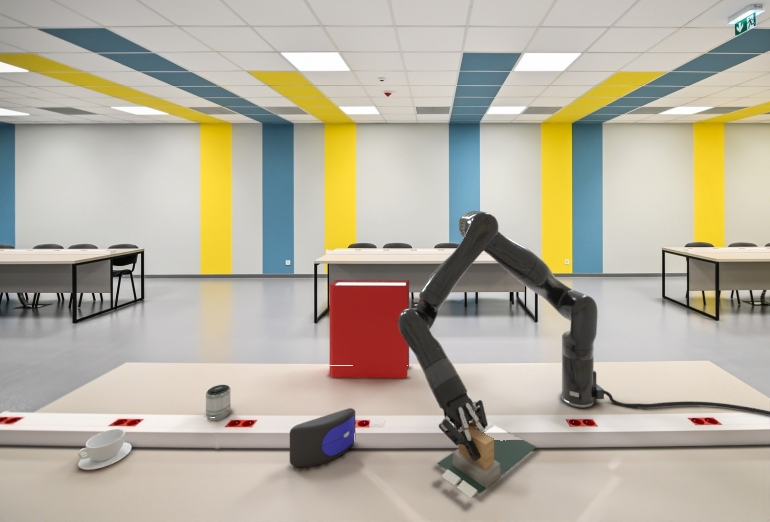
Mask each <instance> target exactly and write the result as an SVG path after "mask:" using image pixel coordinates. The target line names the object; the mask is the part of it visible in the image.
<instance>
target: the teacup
mask: <svg viewBox="0 0 770 522" xmlns="http://www.w3.org/2000/svg"><path fill="white" fill-rule="evenodd" d="M125 436H126V431H125V430H124V429H122V428H113V429H107V430H105V431H102V432H99V433H96V434H94V435H93V436H91V437H89V438H88V440H87V441H86V442H85V447H83V448H81V449H79V450H78V452H77V457H78V458H79V461H78V463H77V465H78V467H79V468H80V469H81V470H97V469H100V468H104V467H107V466H110V465H112V464H114V463H117V462H118V461H120V460H122V459H123V458H124V457H126V456H127V455H128V454H129V453H130V452H131V450H132V445H131V443H129V442H125ZM83 452H85V453H86V454H85V455H82V453H83Z"/></svg>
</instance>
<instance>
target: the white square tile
mask: <svg viewBox="0 0 770 522" xmlns="http://www.w3.org/2000/svg"><path fill="white" fill-rule="evenodd" d="M441 477H442V479H445V480H446V481H447V482H449V483H450V484H452V485H453V486H456V485H458V483H459V484H460V483H461V482H462V481H461V478H460V477H458V476H457V475H455V474H454V473H453V472H451V471H450V470H448V469H447V470H446V469H445V472H444V473H443V474H442V475H441Z"/></svg>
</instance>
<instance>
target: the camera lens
mask: <svg viewBox="0 0 770 522" xmlns="http://www.w3.org/2000/svg"><path fill="white" fill-rule="evenodd" d="M231 389H232V388H231V387H230V386H229V385H228V384H218V385H214V386H212V387H210V388H209V389H208V390H207V391H206V392H205V415H206V419H207V420H209V421H213V422H215V421H219V420H222V419H225V418H227V417H228V416H229V414H230V412H231V406H232V405H231V401H232V400H231ZM207 416H208V417H207ZM210 417H215V418H210Z"/></svg>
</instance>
